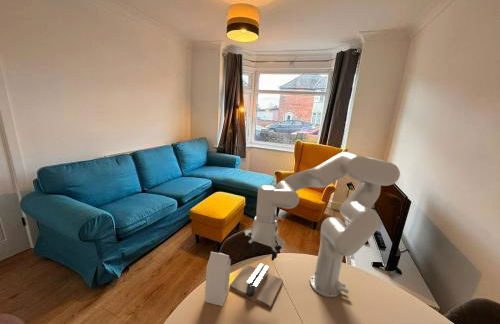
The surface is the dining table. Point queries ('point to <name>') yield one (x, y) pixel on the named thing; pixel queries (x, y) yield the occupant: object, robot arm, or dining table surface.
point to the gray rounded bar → (256, 280)
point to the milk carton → (217, 278)
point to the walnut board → (265, 291)
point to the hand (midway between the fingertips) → (262, 254)
